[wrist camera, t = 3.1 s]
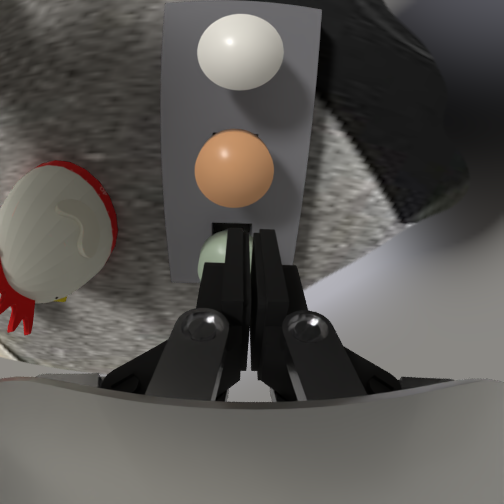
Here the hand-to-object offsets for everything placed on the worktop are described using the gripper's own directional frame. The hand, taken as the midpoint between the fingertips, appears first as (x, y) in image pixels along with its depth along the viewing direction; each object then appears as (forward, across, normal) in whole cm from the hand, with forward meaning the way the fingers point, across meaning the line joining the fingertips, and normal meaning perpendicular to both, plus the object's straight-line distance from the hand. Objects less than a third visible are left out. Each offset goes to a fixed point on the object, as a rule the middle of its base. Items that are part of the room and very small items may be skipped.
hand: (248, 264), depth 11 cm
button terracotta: (+15, +1, -1) cm, 15 cm away
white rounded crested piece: (+18, +20, +7) cm, 28 cm away
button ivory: (+15, +1, -9) cm, 17 cm away
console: (+18, +1, -1) cm, 18 cm away
